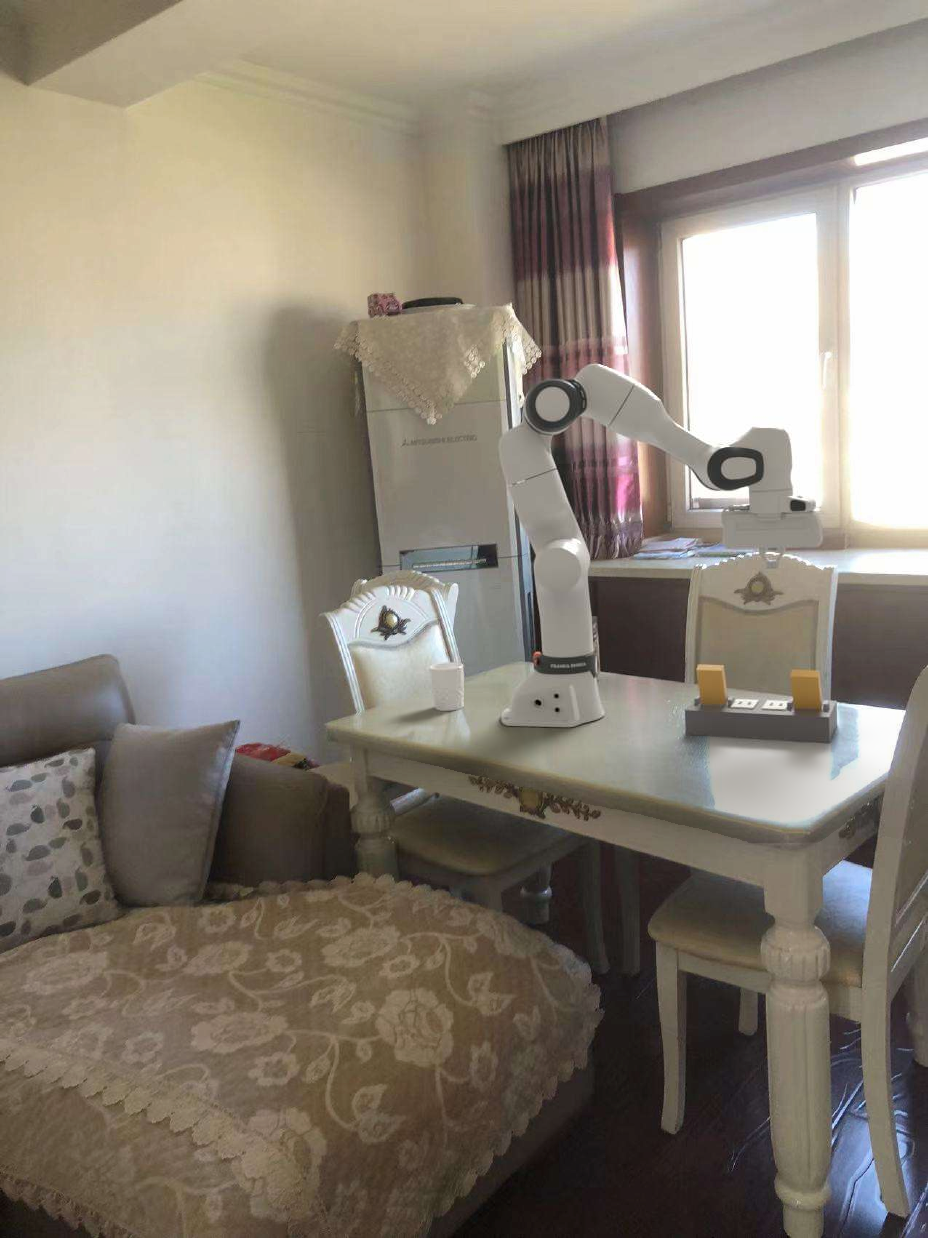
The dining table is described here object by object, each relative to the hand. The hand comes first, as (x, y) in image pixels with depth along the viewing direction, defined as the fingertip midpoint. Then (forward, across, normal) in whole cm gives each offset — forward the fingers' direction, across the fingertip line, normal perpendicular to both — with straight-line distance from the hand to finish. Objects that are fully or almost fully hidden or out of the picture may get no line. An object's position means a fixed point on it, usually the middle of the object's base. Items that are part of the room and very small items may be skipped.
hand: (772, 568), depth 211 cm
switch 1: (+24, -8, -22) cm, 33 cm away
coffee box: (+29, -47, +10) cm, 57 cm away
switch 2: (+24, +10, -22) cm, 34 cm away
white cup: (+29, -71, -18) cm, 79 cm away
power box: (+29, +1, -22) cm, 36 cm away
